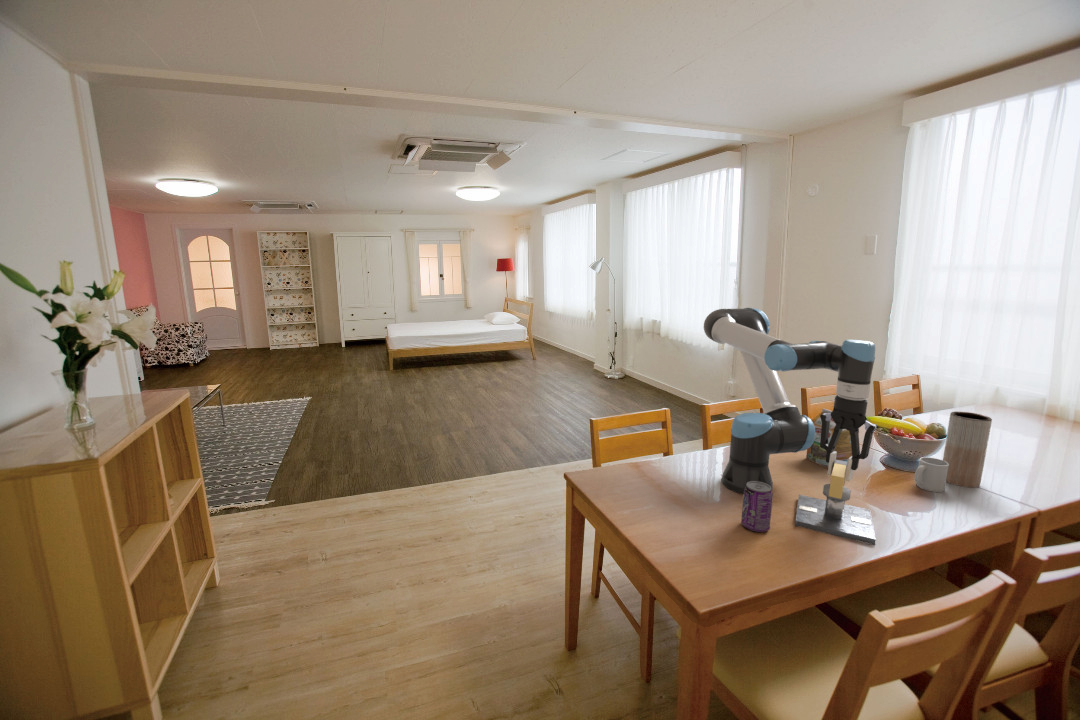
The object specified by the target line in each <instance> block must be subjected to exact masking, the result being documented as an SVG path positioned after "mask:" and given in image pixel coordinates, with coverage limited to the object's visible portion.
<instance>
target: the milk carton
mask: <svg viewBox="0 0 1080 720" xmlns="http://www.w3.org/2000/svg"><path fill="white" fill-rule="evenodd" d="M832 411H833V410H830V409H826V408H822V409H821V412H820V413H819V414H817V415H816V416H815V417H813V419H811V420H812V422H813V424H814V427H815V439H814V442H813V444H812V445H811V447H810V448H808V449H807V450H806V454H805V455H806V456H805V459H806V458H807V459H806V460H808V459H809V461H811V462H813V463H815V464H818V465H819V466H822V467H824V468H826V469H828V467H829V463H828V462H826V454H827V451H826V450H825V449H824V448H821V447H820V440H821V428H822V421H821V418H820V415H822V414H824V413H827V414H828V413H831V412H832ZM835 425H836V424H835V422H834V420H833V419H832V417H831V420H830V426H829V437H828V444H829V442H830V439H831V437H832V434H833V432H834V428H835ZM834 451H836V452H837V455H836V460H841V461H846V462H847V466H848V460H849V458H850V457H852V449H851V436H850V432H849V431H848V430H846V429H843V430H842V431H841V434H840V436H839V439H838V441H837V444H836V446H835V450H834Z"/></svg>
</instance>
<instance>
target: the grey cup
mask: <svg viewBox="0 0 1080 720" xmlns="http://www.w3.org/2000/svg"><path fill="white" fill-rule="evenodd" d="M918 462H919V463H918V467H917V468H916V470H915V473H914V482H915V484H916V486H917V487H918V488H919V489H922V490H925V491H928V492H932V493H942V492H944V491H945V489H946V484H947V482H946V479H947V473H948V467H949V464H948V463H947V462H945V461H943V459H939V458H937V457H936V458H935V457H929V456H924V457H923V456H922V457H919V461H918Z"/></svg>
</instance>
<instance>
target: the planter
mask: <svg viewBox="0 0 1080 720" xmlns="http://www.w3.org/2000/svg"><path fill="white" fill-rule="evenodd" d="M948 420H949V421H948V425H947V432H946V439H945V446H944V451H943V456H942V457H943V458H942V460H943V461H945V462H947V463H948V464H949V467H948V473H947V479H946V483H949V484H952V485H955V486H958V487H964V488H978V487H980V485H981V482H982V477H983V471H984V465H985V460H986V455H987V449H988V444H989V438H990V434H991V433H990V432H991V427H992V423H993V419H992V417H990V416H988V415H985V414H981V413H976V412H971V411H970V412H969V411H958V410H957V411H952V412H950V415H949V419H948Z"/></svg>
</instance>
